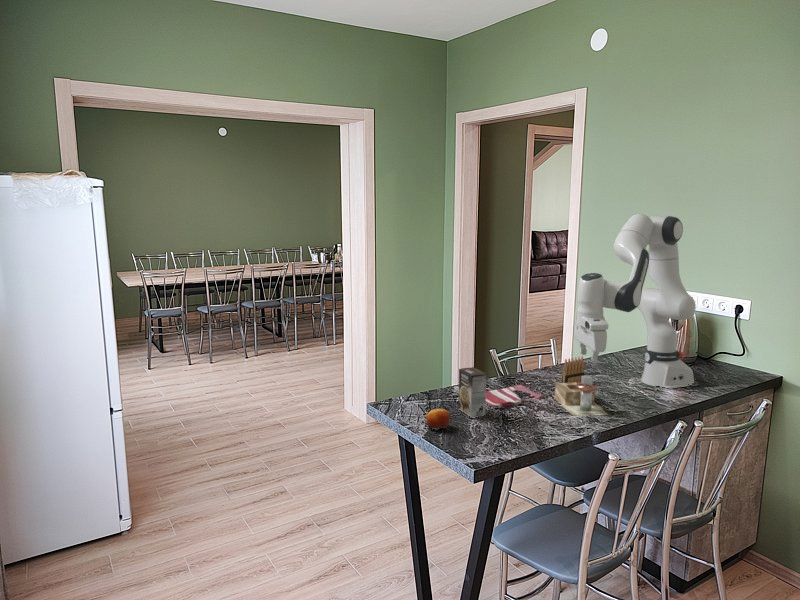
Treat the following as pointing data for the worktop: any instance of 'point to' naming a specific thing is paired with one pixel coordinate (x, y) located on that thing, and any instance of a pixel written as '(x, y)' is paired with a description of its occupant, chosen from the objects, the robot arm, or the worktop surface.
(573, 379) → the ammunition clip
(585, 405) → the handwheel peg
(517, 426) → the worktop surface
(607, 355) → the worktop surface
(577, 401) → the collar stand
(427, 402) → the worktop surface
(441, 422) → the fruit
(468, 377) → the coffee box
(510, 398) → the dish towel
